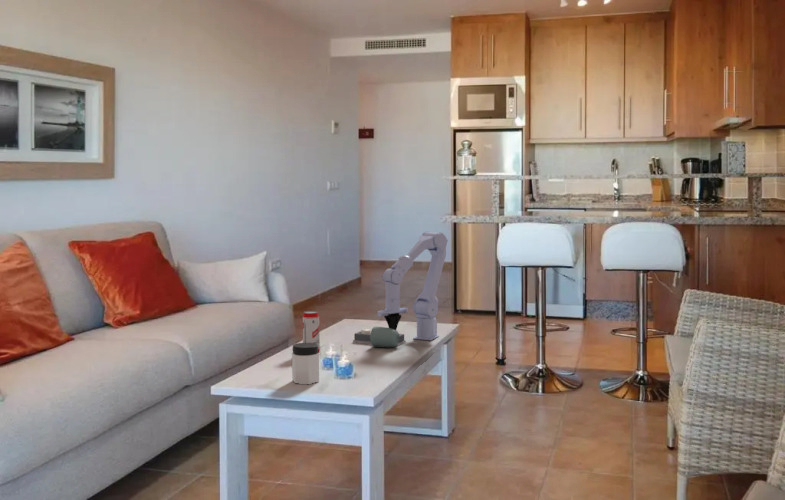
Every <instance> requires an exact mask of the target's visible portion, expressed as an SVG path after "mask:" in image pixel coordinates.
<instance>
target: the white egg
mask: <svg viewBox="0 0 785 500" xmlns="http://www.w3.org/2000/svg"><path fill="white" fill-rule="evenodd" d="M371 330H372V329H369V328H365V329H364V328H363V329H360V331H361V334H371Z"/></svg>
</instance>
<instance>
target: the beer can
mask: <svg viewBox="0 0 785 500" xmlns="http://www.w3.org/2000/svg"><path fill="white" fill-rule="evenodd" d="M302 343H315V344H317V345H318V353H319V354H320V350H321V349H320V348H321V346H320V345H321V344H320V343H321V341H320V314H319V312H318V311H316V310H305V311H303V315H302Z"/></svg>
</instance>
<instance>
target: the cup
mask: <svg viewBox="0 0 785 500" xmlns="http://www.w3.org/2000/svg"><path fill="white" fill-rule="evenodd" d="M370 330H371V335H370V342H371V344H370V345H371V346H372V347H378V348H395V347H397V346H396V345H397V344H398V342H399V334H400V333H399V331H398V330H397V329H396V330H395V329H392V328H389V327H383V326H373V327H372V329H370Z"/></svg>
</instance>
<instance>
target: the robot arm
mask: <svg viewBox="0 0 785 500" xmlns="http://www.w3.org/2000/svg"><path fill="white" fill-rule="evenodd" d="M447 245H448V239H447V237H446V234H444V233H443V232H430V231H425V232H423V233H422V235H420V236H419V238H418V241H417V242H416V243H415V244H414V245H413V247H412V248H411V249H410V251H409V252H408V253H407V254H406V255H402V256H399V257H398V260H396V262H395V263H394V264H392V265H391V267H390V268H387V269H385V271H384V272H383V275H382V277H381V278H382V280H383V282H384V286H385V308H384V309H382V310H378V311H377V312H376V313H377V314H376V316H377V317H379V318H380V317H381V318H382V317H384V319H385V321H386V323H387V326H388V328H392V329H395V330H396V331H397V328H398V325H399V323H400V321H401V319H402V314H408V313H409V308H408V307H401V283H402V282H403V280H404V276H405V274H406V273H407V272H408V271H409V270H410V269H411V268H412V267H413V265H414V263H413V262H414V261H415V259H416V258H418V257H419V256H420V255H421V254H422V253H423V252H424V251H425V250H427V251H428V252H429V253H430V255H431V259H430V262H429V267H428V270H427V274H426V278H425V281H424V286H423V289H422V292H421V293H420V294H419V295H418V296H417V297H416V300H414V303H413V305H412V310H413V313H414V314H415V317H416V336H414V337H413V338H412V339H413V340H421V341H422V340H423V341H432V340H434V339H436V338H438V337H440V335H439V334H438V333H437V332H438V321H437V319H436V316H437V314H438V313H439V303H440V302H439V299H438V297H437V291H438V287H439V283H440V279H441V276H442V272H443V269H444V265H445V260H446V256H447Z"/></svg>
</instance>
